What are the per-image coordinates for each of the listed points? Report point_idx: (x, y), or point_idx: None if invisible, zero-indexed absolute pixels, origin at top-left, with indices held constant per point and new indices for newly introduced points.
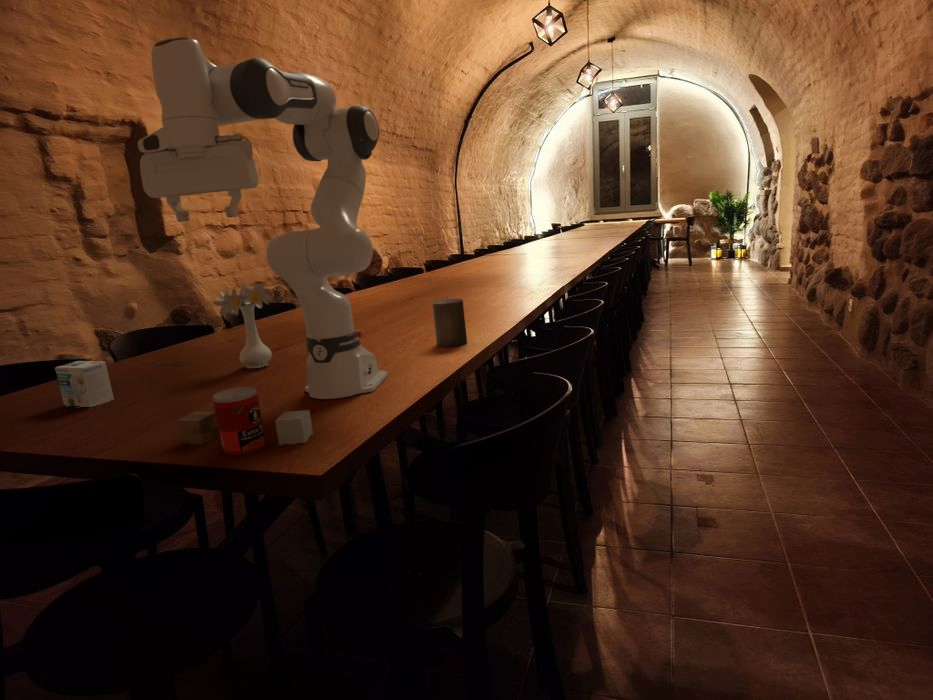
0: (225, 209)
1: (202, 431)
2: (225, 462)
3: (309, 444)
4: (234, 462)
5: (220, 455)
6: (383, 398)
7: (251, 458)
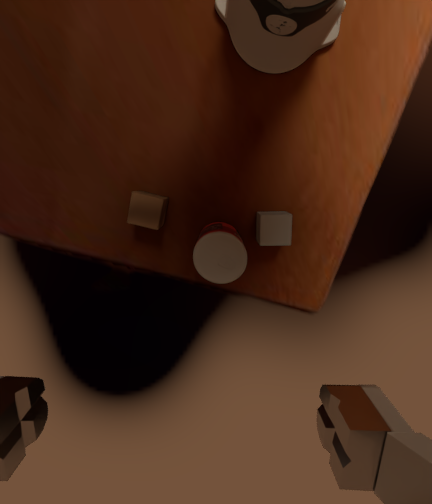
0: (336, 474)
1: (161, 224)
2: None
3: None
4: None
5: None
6: (355, 82)
7: None
